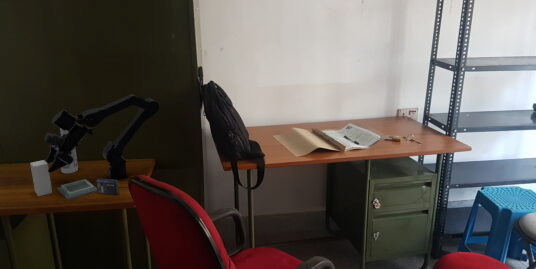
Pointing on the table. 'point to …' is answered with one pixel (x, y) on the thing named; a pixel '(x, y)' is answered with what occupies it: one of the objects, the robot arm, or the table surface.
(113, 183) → the mini dv tape
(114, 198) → the table surface
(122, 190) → the table surface
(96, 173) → the table surface
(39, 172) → the white post
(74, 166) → the bath foam
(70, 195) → the base plate
